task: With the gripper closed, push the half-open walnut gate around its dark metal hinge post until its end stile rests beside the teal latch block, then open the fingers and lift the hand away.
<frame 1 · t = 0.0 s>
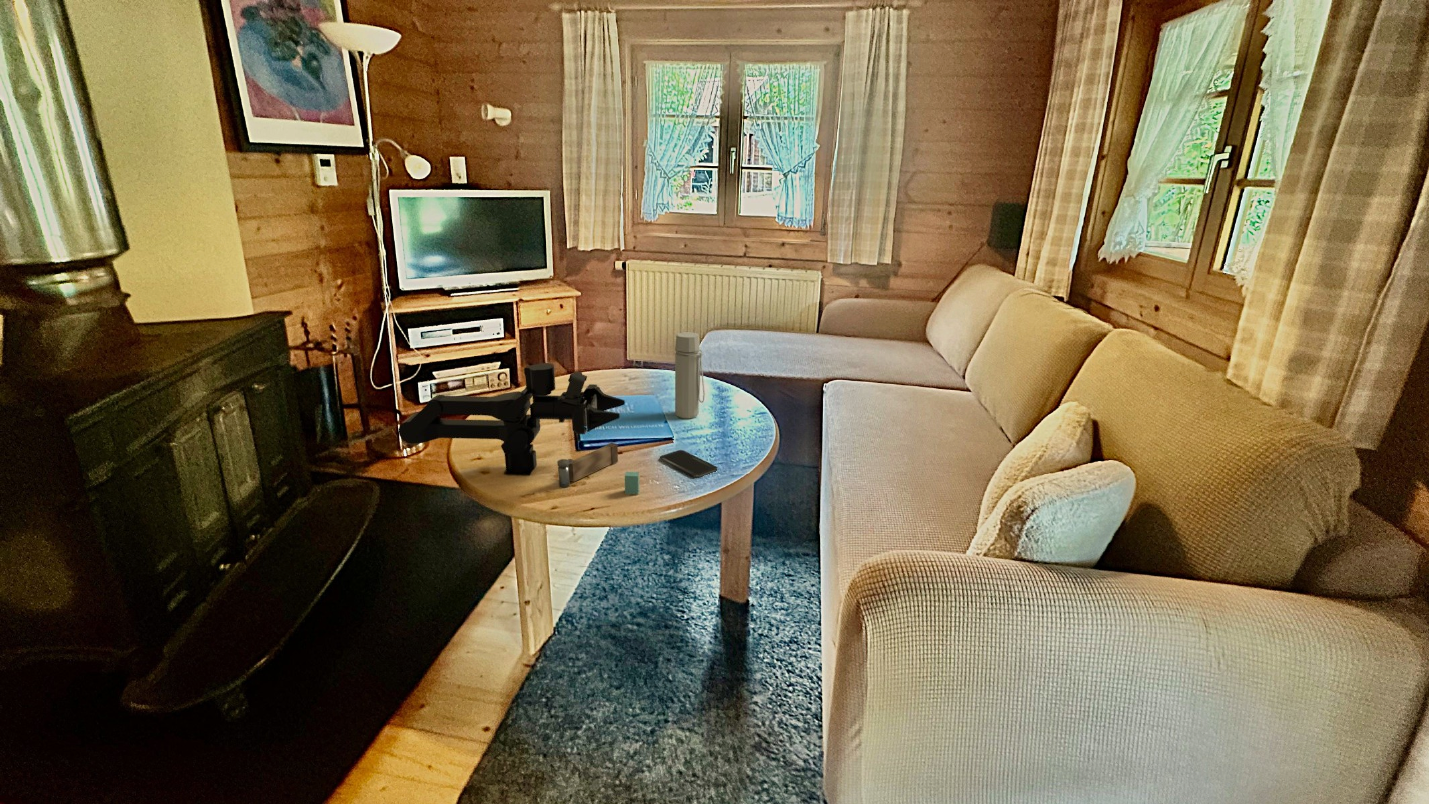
hand: (622, 408, 161), 17 cm above the table, tool horizontal, fingers open, 9 cm apart
hinge post: (564, 485, 159), on the table
water bottle: (689, 416, 204), on the table
gate: (588, 461, 164), point 3 cm above the table, hinge at 55.0°
latch block: (632, 492, 157), on the table
phone: (688, 467, 172), on the table
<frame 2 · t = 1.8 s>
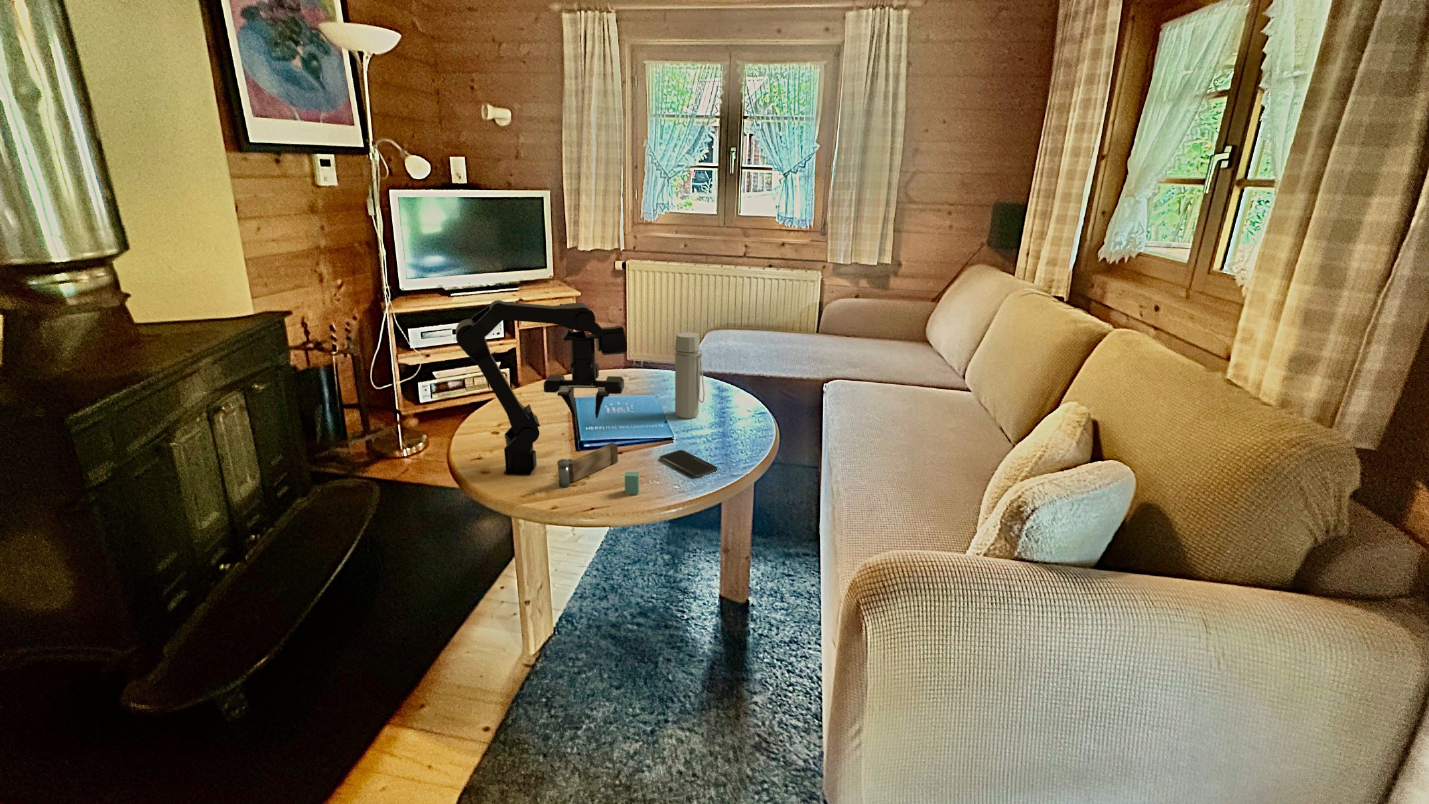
hand: (586, 417, 168), 12 cm above the table, tool pointing down, fingers open, 5 cm apart
nothing on the table moved.
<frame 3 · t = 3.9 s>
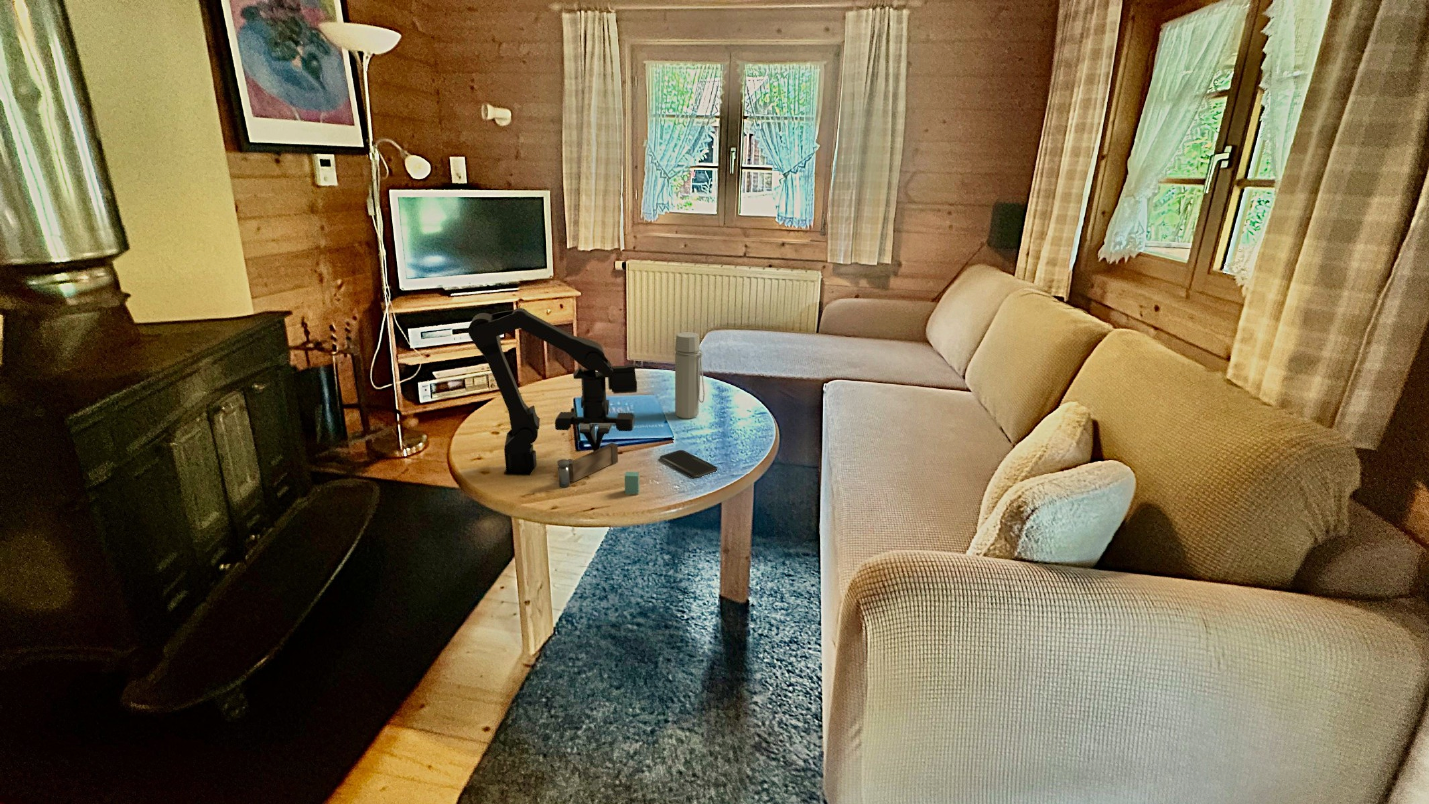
hand: (596, 453, 169), 3 cm above the table, tool pointing down, fingers closed
gate: (588, 461, 164), point 3 cm above the table, hinge at 54.9°, touching gripper
everything else where it was.
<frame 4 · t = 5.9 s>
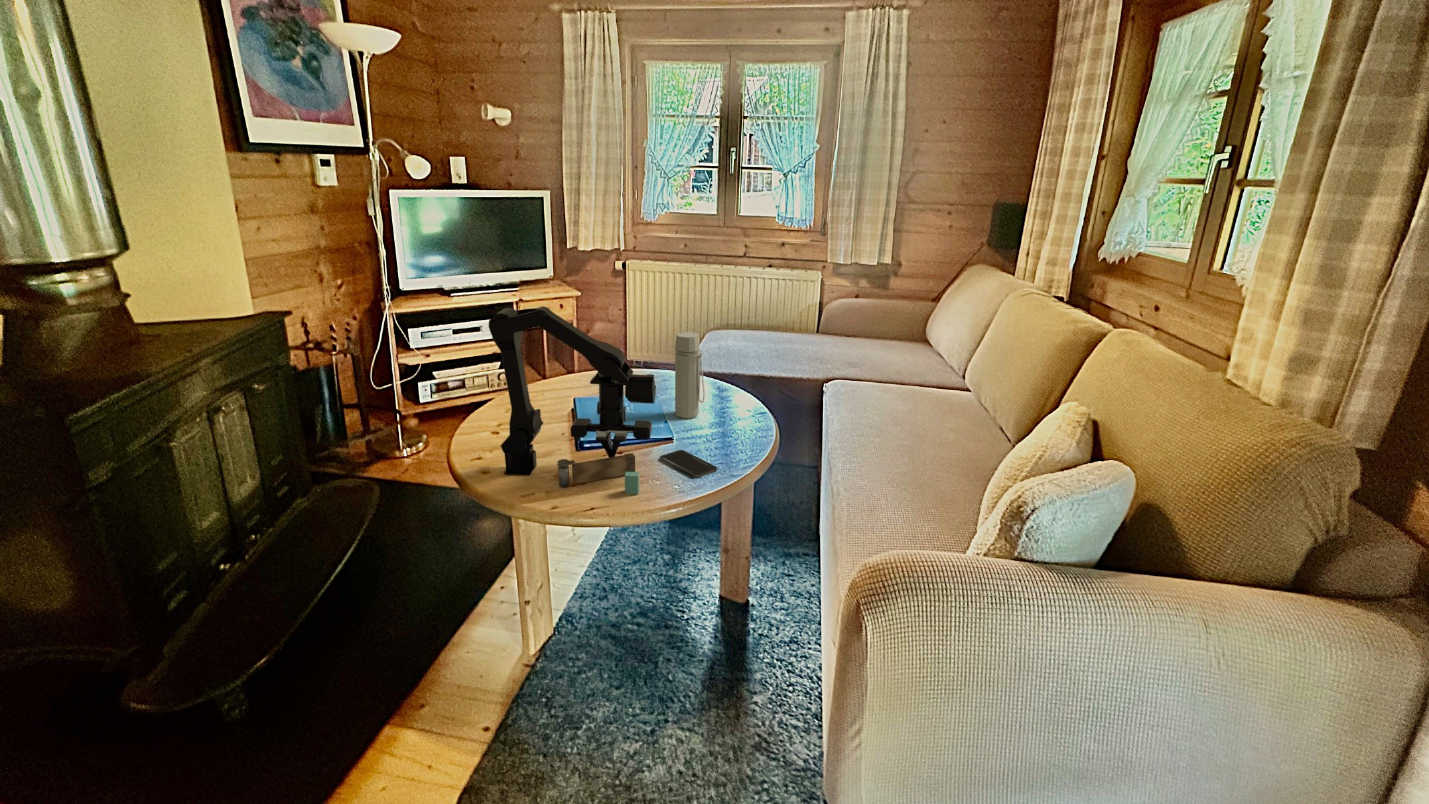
hand: (612, 461, 165), 3 cm above the table, tool pointing down, fingers closed
gate: (596, 467, 161), point 3 cm above the table, hinge at 26.1°, touching gripper
everything else where it was.
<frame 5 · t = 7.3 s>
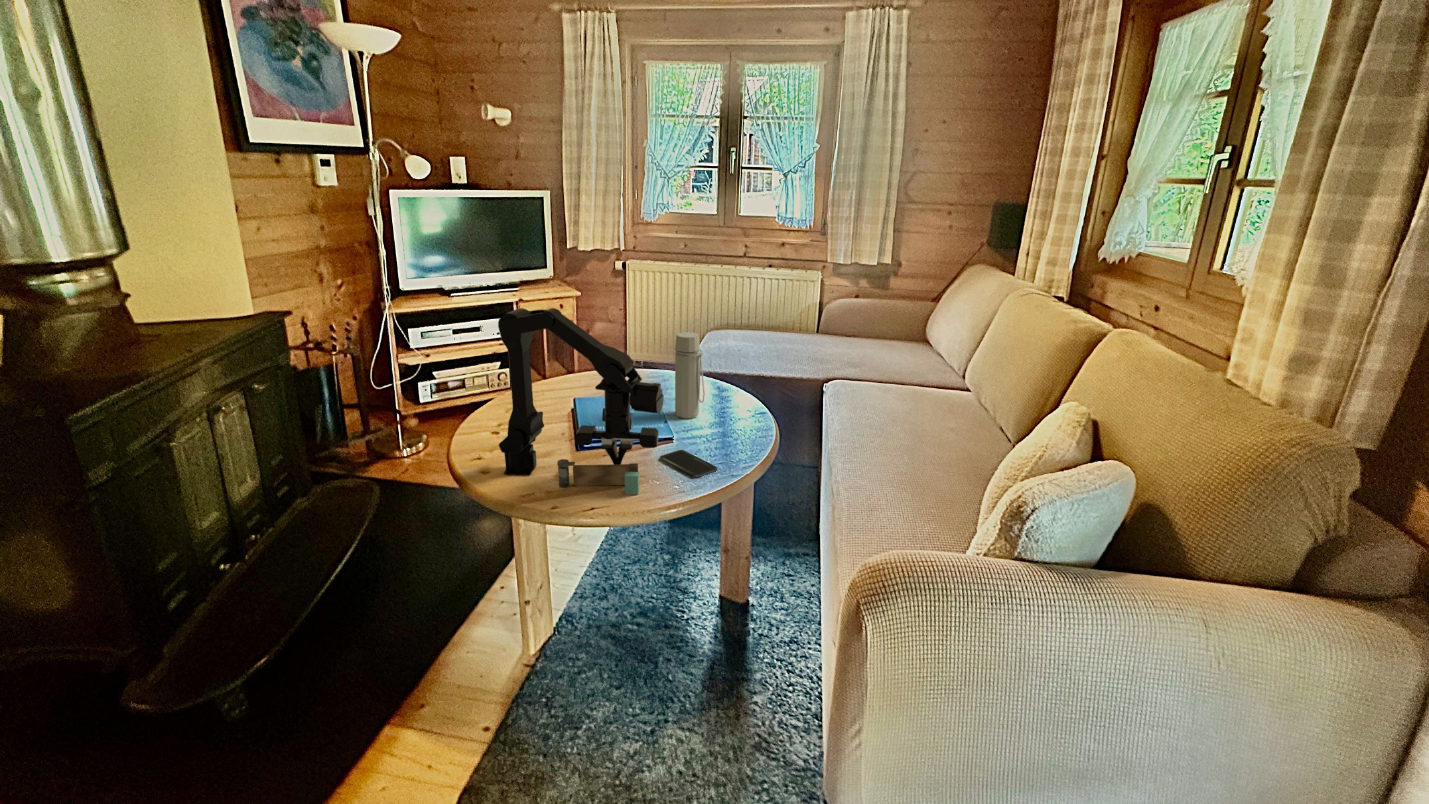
hand: (617, 469, 161), 3 cm above the table, tool pointing down, fingers closed
gate: (598, 472, 159), point 3 cm above the table, hinge at 4.9°, touching gripper
everything else where it was.
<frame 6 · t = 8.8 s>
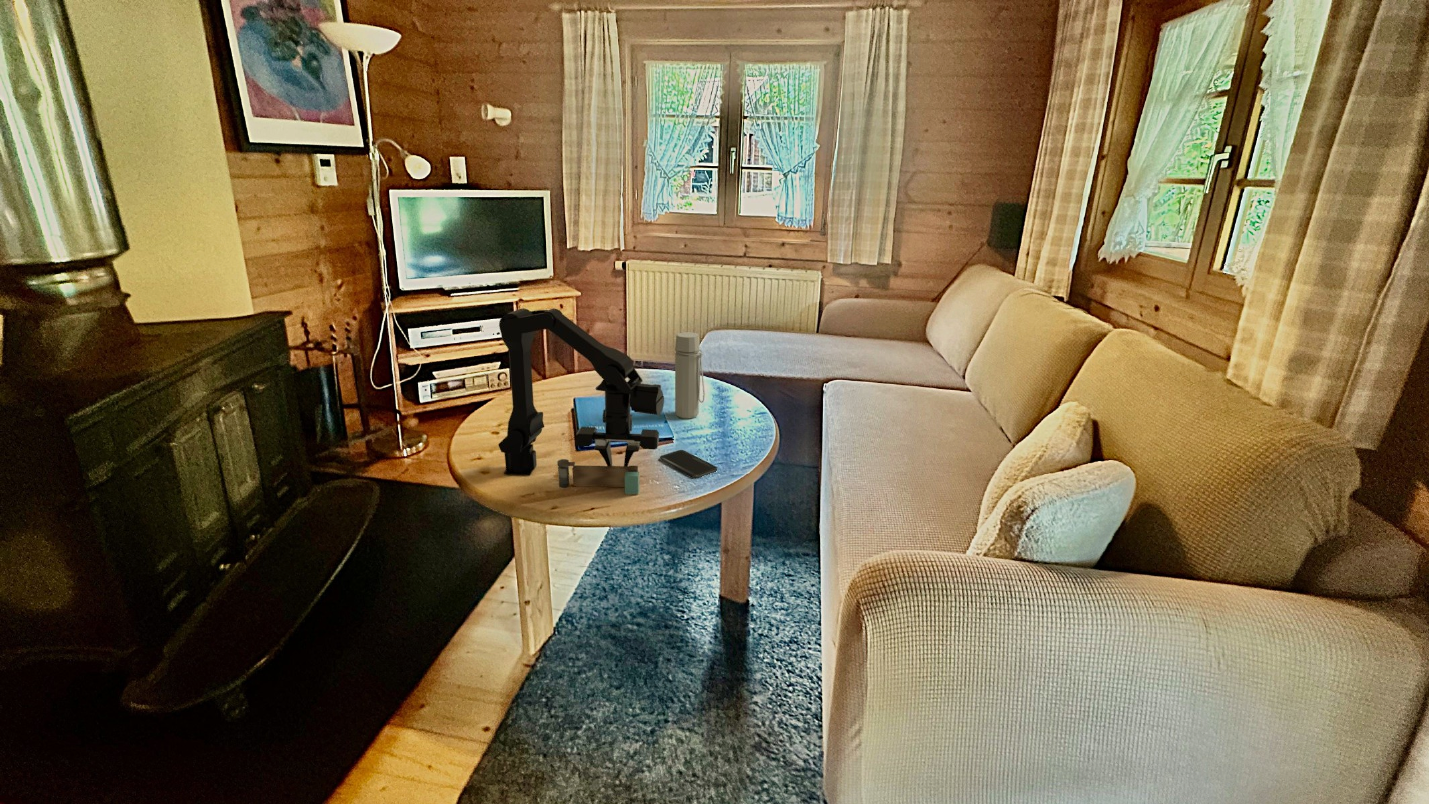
hand: (618, 471, 160), 3 cm above the table, tool pointing down, fingers open, 3 cm apart
gate: (597, 473, 158), point 3 cm above the table, hinge at 0.6°, touching gripper
everything else where it was.
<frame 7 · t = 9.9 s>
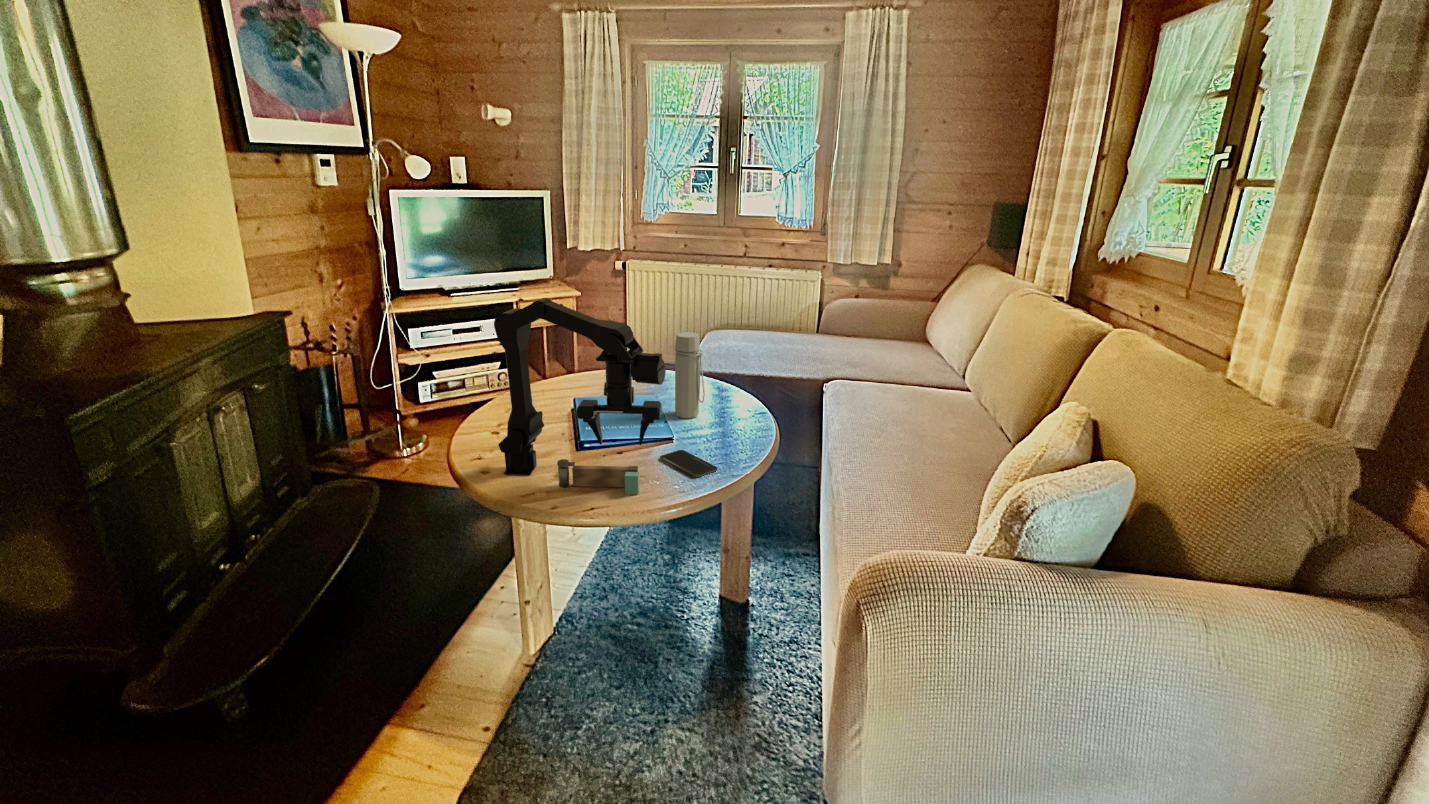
hand: (620, 444, 158), 10 cm above the table, tool pointing down, fingers open, 9 cm apart
gate: (597, 473, 158), point 3 cm above the table, hinge at -0.1°
everything else where it was.
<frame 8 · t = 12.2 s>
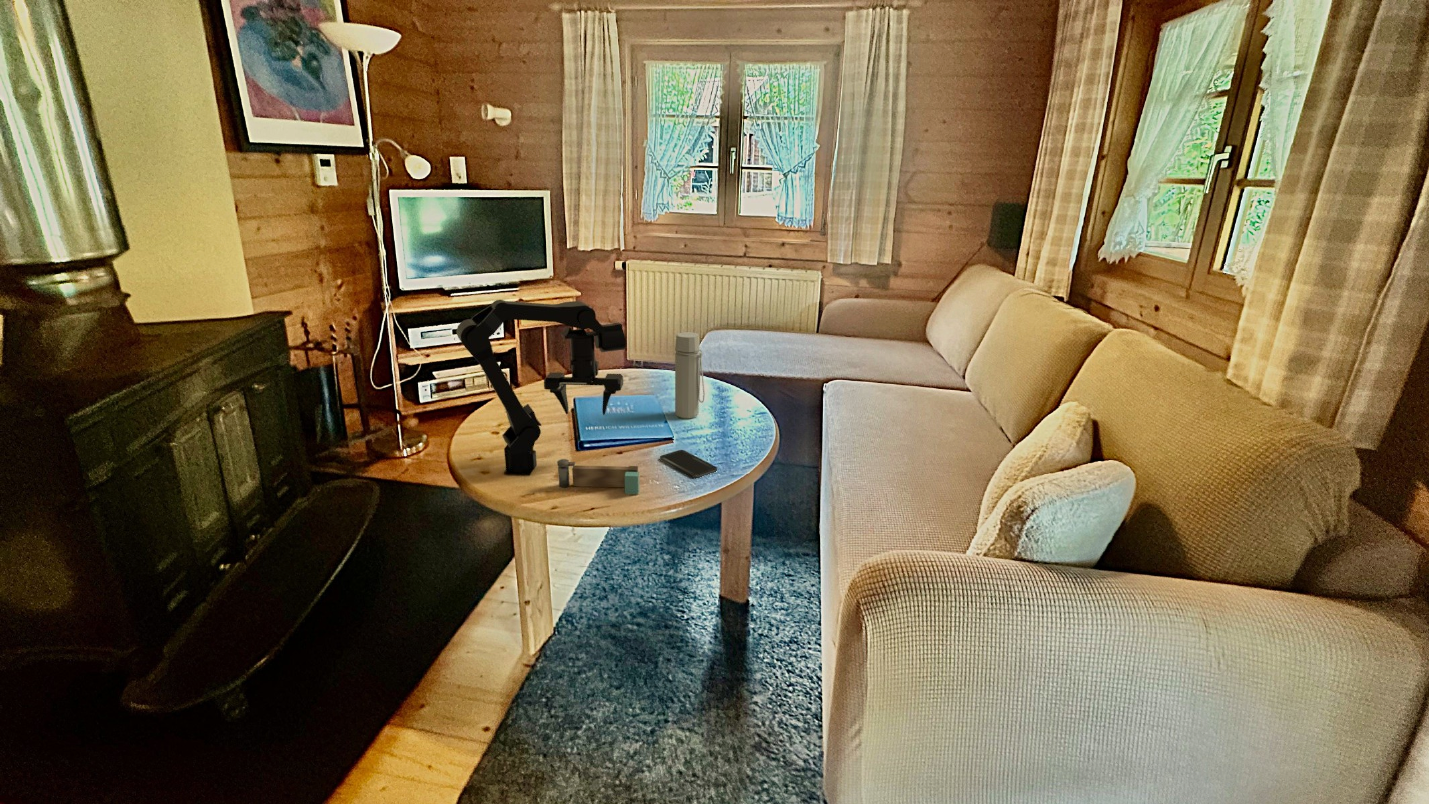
hand: (585, 414, 170), 12 cm above the table, tool pointing down, fingers open, 9 cm apart
nothing on the table moved.
at the end: gate at +0° (first picture: +55°); phone moved 0.6 cm from its start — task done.
